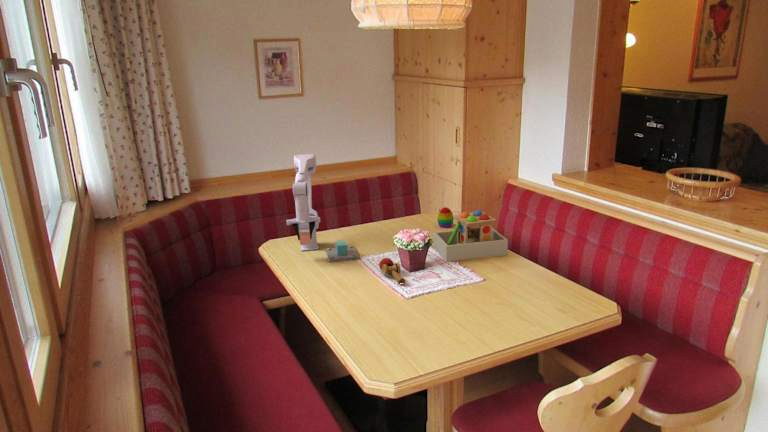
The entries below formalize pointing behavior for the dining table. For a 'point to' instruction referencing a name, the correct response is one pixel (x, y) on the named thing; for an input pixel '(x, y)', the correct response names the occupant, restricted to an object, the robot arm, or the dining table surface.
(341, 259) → the baseplate
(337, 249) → the teal brick
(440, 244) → the toy tray
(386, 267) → the kendama
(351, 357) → the dining table surface
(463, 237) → the pounding bench toy
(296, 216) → the robot arm
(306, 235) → the terracotta brick
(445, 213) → the decorative egg
